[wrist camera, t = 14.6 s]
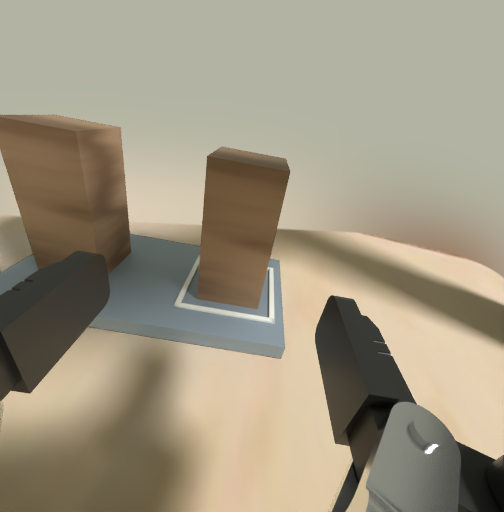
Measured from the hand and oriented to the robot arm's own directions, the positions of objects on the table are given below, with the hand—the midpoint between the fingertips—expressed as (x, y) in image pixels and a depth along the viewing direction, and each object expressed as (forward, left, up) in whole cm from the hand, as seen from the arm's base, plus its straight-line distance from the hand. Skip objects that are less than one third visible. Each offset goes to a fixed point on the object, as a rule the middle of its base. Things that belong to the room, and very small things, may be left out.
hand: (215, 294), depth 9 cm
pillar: (-8, -8, -8) cm, 13 cm away
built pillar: (+1, -17, -8) cm, 19 cm away
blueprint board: (-3, -12, -9) cm, 16 cm away
